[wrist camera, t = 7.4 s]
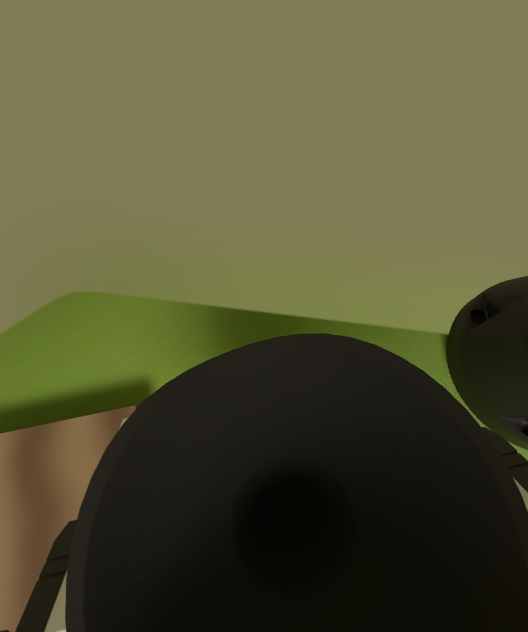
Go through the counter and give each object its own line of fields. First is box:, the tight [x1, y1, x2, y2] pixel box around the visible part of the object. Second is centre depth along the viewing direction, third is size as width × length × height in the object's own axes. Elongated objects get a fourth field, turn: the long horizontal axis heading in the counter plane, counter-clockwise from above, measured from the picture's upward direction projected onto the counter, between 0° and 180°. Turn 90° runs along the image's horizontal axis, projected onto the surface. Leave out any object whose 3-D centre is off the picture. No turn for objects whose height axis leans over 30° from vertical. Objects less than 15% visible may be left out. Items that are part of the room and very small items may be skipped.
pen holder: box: [65, 333, 528, 632], centre depth 12 cm, size 9×9×10 cm
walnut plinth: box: [0, 405, 139, 632], centre depth 26 cm, size 14×14×4 cm
